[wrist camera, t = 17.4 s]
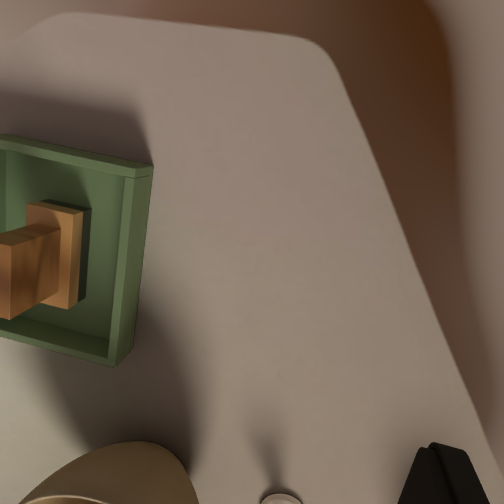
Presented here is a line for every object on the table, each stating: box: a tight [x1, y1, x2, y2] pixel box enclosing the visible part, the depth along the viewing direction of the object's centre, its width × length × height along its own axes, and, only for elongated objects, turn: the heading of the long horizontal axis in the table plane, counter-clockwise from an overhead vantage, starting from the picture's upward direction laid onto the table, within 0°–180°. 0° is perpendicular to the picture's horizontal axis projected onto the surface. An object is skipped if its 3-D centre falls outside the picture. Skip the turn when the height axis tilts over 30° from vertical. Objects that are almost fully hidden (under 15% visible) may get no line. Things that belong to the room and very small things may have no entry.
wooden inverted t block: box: [0, 199, 92, 320], centre depth 35 cm, size 9×4×9 cm, turn 169°
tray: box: [0, 134, 154, 368], centre depth 38 cm, size 19×15×4 cm
